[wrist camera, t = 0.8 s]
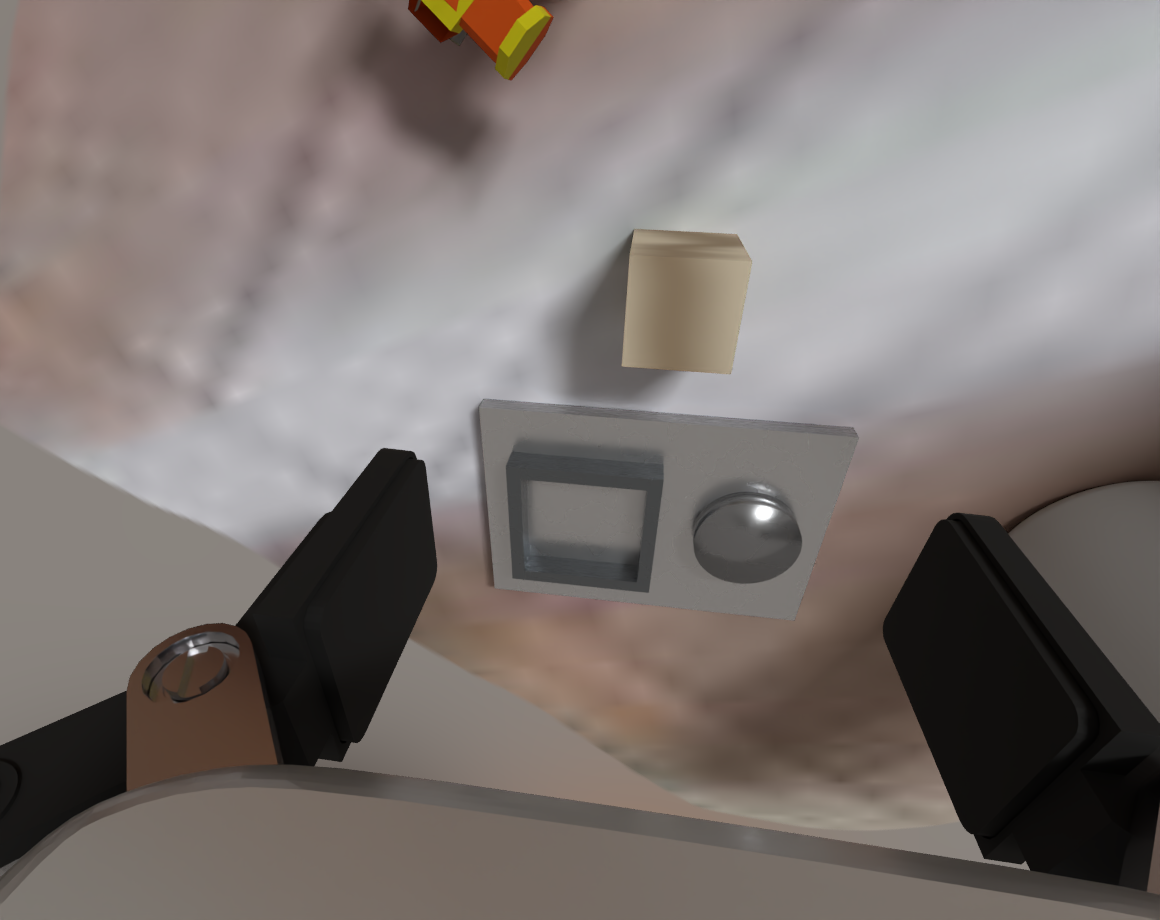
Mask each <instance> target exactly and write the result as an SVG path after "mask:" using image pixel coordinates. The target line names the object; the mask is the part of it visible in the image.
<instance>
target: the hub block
mask: <svg viewBox="0 0 1160 920" xmlns="http://www.w3.org/2000/svg"><path fill="white" fill-rule="evenodd" d="M751 266H752V260H751V258H750V257H749V255H748V253H747V251H746V249H745V248H744V246H743V244H742V242H741V241H740V239H739V237H738V235H737V234H723V233H703V232H684V231H664V230H644V229H634V234H633V239H632V245H631V250H630V257H629V271H628V285H627V299H626V313H625V327H624V341H623V355H622V367H635V368H649V369H663V370H677V371H691V372H705V373H719V374H731V371H732V366H733V361H734V355H735V350H736V345H737V340H738V334H739V329H740V324H741V319H742V313H743V308H744V303H745V298H746V292H747V287H748V282H749V276H750V271H751Z"/></svg>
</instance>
